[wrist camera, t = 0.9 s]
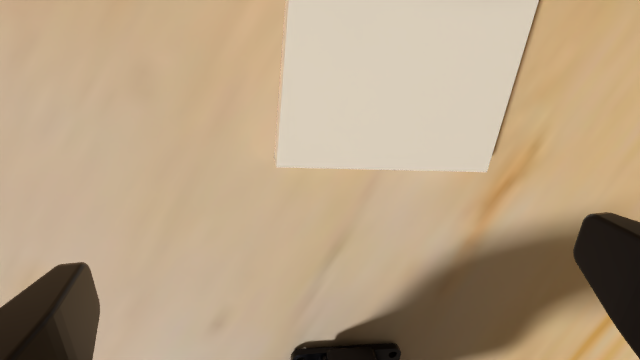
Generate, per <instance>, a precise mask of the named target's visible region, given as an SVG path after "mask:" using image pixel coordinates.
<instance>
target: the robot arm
mask: <svg viewBox="0 0 640 360" xmlns="http://www.w3.org/2000/svg"><path fill="white" fill-rule="evenodd" d="M573 254H574V259H575V261H576V263H577V265H578V266H579V268H580V270H581V271H582V273H583V274H584V276H585V278H586V279H587V281H588V283H589V284H590V286H591V287H592V289H593V291H594V292H595V294H596V296H597V297H598V299H599V300H600V302H601V304H602V305H603V307H604V308H605V310H606V312H607V313H608V315H609V317H610V318H611V320H612V321H613V323H614V324H615V326H616V327H617V329H618V330H619V332H620V333H621V335H622V336H623V337H624V339H625V340H626V341H627V343H628V344H629V345H630V347H631V348H632V349H633V351H634V352H635V353H636V355H637V356H638V357H639V359H640V222H637V221H634V220H631V219H628V218H625V217H622V216H619V215H616V214H613V213H607V212H606V213H596V214H590V215H588V216H586V217H585V219H584V220H583V222H582V225H581V228H580V231H579V234H578V237H577V240H576V243H575V246H574V249H573ZM99 315H100V304H99V299H98V295H97V291H96V288H95V284H94V281H93V277H92V274H91V270H90V268H89V266H88V265H87V264H86V263H84V262H80V263H69V264H60V265H57V266H56V267H54V268H53V269H52V270H50V271H49V272H48V273H46V274H45V275H44V276H42V277H41V278H40V279H38V280H37V281H36V282H34V283H33V284H32V285H30V286H29V287H28V288H26V289H25V290H24V291H22V292H21V293H20V294H18V295H17V296H15V297H14V298H13V299H11V300H10V301H9V302H7V303H6V304H5V305H3V306H2V307H1V308H0V360H92V359H93V352H94V346H95V340H96V334H97V328H98V322H99ZM400 355H401V352H400V349H399V347H398V345H397V344H394V343H389V344H372V345H356V346H339V347H323V348H306V349H297V350H295V351H294V352H293V353H292V354H291V360H399V359H400Z"/></svg>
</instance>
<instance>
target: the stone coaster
mask: <svg viewBox="0 0 640 360" xmlns="http://www.w3.org/2000/svg"><path fill="white" fill-rule="evenodd" d="M538 2H539V0H285V13H284V27H283V41H282V55H281V69H280V83H279V97H278V110H277V124H276V138H275V152H274V159H275V164H276V167H289V168H331V169H374V170H417V171H460V172H487V170H488V167H489V163H490V160H491V157H492V154H493V150H494V147H495V144H496V140H497V137H498V134H499V130H500V127H501V124H502V121H503V117H504V114H505V111H506V107H507V104H508V101H509V97H510V94H511V91H512V87H513V84H514V81H515V78H516V74H517V71H518V68H519V64H520V61H521V58H522V54H523V51H524V48H525V45H526V41H527V38H528V35H529V31H530V28H531V25H532V21H533V18H534V15H535V12H536V8H537V5H538Z"/></svg>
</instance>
